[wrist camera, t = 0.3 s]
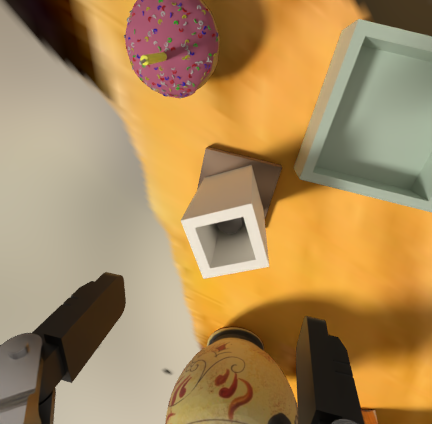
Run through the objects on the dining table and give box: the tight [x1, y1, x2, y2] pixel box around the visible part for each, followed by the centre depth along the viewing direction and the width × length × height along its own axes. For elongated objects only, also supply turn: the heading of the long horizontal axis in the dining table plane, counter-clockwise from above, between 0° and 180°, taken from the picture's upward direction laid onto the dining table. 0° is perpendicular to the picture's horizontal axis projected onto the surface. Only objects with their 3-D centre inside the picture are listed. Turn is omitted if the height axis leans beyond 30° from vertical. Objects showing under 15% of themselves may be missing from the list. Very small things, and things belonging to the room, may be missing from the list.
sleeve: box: [181, 165, 269, 279], centre depth 27 cm, size 6×6×12 cm
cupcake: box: [124, 0, 220, 98], centre depth 23 cm, size 9×8×12 cm
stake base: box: [197, 147, 282, 234], centre depth 30 cm, size 9×9×9 cm
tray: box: [294, 19, 432, 212], centre depth 27 cm, size 14×14×4 cm
